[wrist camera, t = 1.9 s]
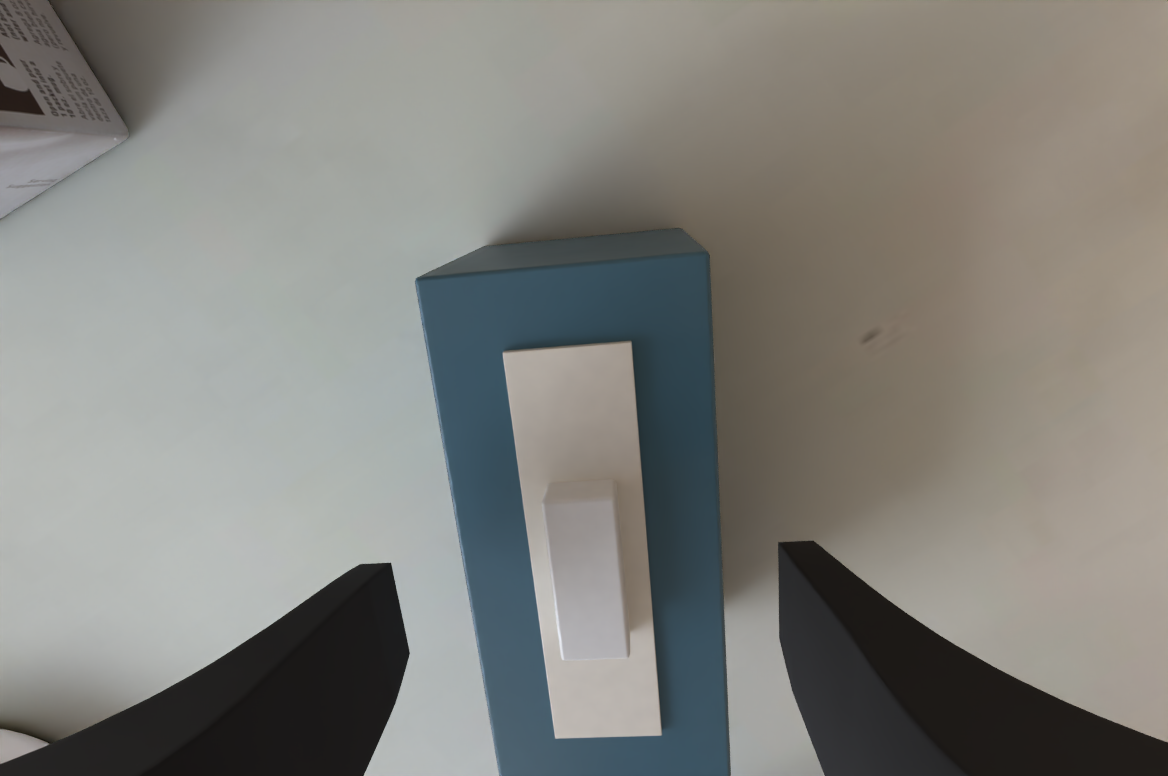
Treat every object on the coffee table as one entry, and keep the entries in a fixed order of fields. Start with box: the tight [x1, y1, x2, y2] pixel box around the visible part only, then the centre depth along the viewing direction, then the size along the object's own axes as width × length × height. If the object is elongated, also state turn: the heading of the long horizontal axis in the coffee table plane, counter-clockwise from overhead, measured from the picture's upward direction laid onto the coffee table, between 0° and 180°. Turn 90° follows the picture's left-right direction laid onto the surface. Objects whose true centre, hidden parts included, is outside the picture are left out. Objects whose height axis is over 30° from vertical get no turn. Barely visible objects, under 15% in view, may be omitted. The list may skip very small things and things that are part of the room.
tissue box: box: [415, 228, 731, 776], centre depth 16 cm, size 12×5×7 cm, turn 6°
